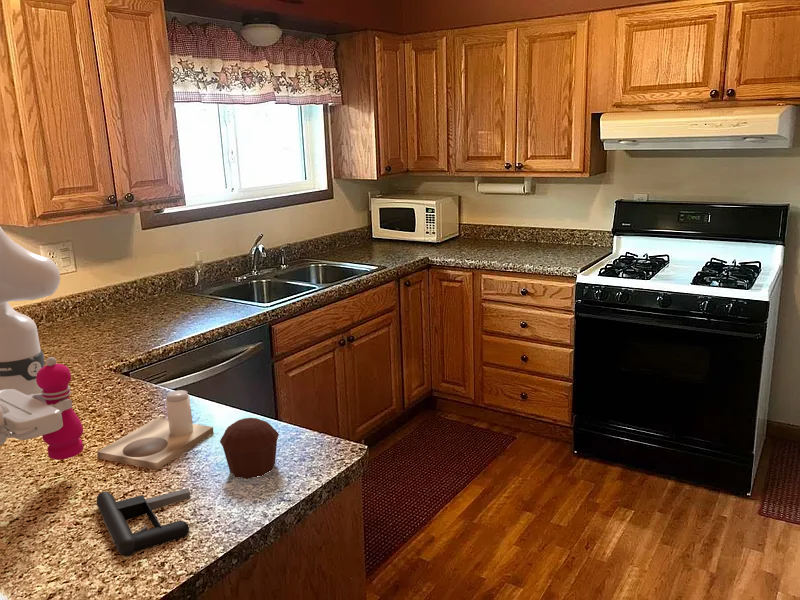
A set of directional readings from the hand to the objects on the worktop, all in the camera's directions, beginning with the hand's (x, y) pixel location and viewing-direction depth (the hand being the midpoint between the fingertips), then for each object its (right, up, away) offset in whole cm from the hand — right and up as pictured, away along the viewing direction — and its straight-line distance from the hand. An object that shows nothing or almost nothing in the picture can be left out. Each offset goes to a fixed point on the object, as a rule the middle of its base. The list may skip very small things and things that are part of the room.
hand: (62, 398), depth 129 cm
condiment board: (+13, -12, +16) cm, 24 cm away
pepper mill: (0, -11, +2) cm, 11 cm away
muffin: (+36, -15, +4) cm, 39 cm away
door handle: (+22, -20, -12) cm, 32 cm away
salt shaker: (+17, -10, +18) cm, 27 cm away
